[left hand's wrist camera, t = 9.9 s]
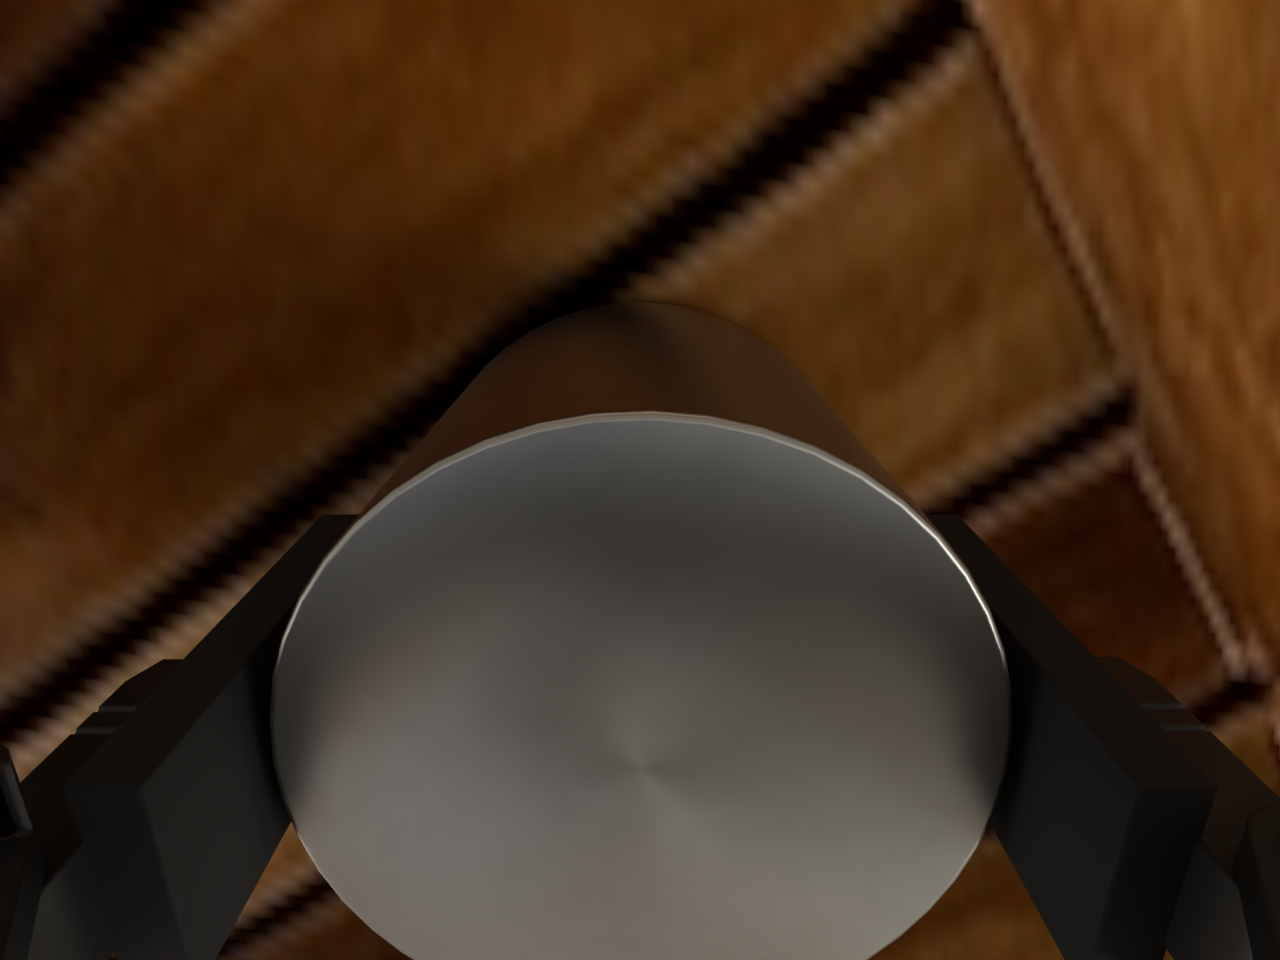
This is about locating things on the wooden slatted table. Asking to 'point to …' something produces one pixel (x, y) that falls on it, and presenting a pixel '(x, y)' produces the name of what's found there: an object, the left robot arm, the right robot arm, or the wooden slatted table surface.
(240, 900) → the left robot arm
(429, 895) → the can
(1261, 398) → the wooden slatted table surface
